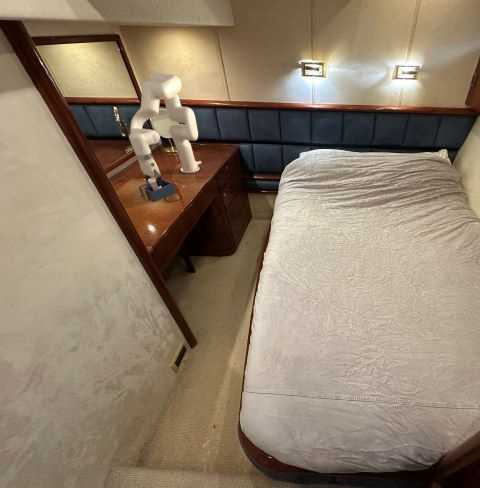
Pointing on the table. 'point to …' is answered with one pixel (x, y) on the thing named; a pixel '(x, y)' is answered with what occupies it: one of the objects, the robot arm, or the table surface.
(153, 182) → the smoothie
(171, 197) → the coaster
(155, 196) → the drawer
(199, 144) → the table surface
